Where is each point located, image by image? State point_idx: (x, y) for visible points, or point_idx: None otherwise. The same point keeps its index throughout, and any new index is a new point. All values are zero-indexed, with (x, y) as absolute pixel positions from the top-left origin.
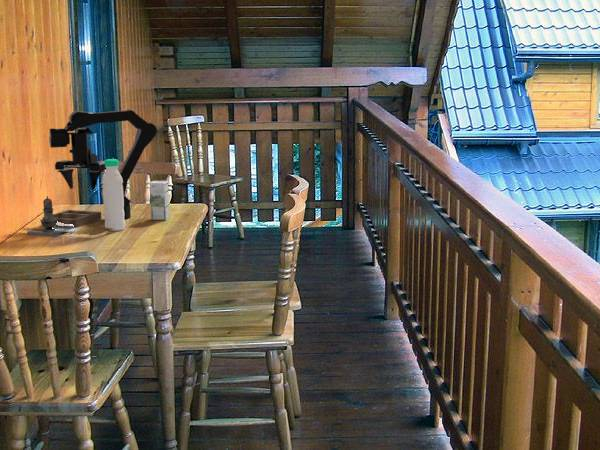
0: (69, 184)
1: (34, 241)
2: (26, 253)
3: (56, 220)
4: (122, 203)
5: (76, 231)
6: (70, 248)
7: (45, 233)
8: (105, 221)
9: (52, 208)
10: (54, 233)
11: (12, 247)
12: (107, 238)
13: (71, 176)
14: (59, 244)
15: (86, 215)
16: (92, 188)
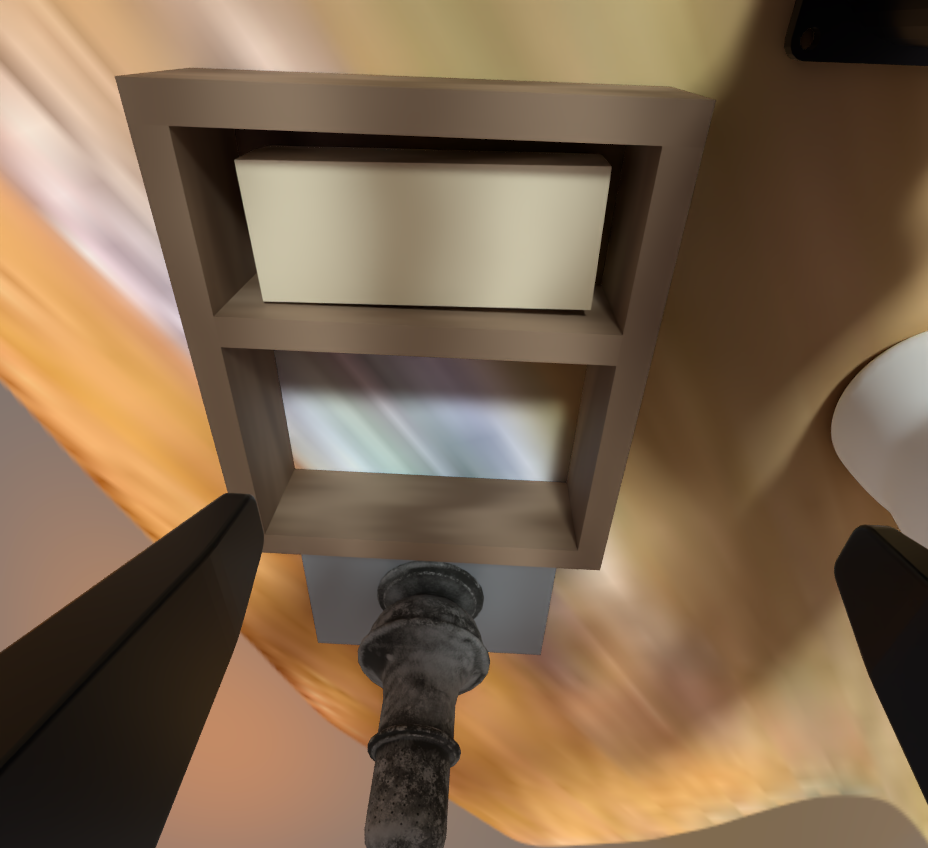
0: (219, 663)
1: (486, 718)
2: (584, 827)
3: (489, 661)
4: None
5: None
6: (740, 774)
7: None
8: (885, 507)
9: (444, 747)
10: (526, 653)
11: (463, 787)
12: None
13: (19, 832)
14: (651, 739)
15: (612, 393)
16: (870, 613)
